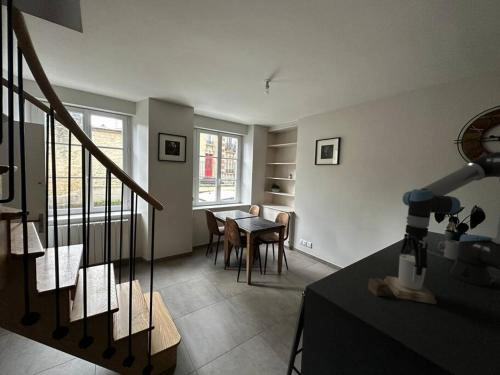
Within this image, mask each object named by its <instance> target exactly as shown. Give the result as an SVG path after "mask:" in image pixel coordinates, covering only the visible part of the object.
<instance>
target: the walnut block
mask: <svg viewBox="0 0 500 375" xmlns="http://www.w3.org/2000/svg"><path fill="white" fill-rule="evenodd" d="M388 289H389V287H388V284H387V283H385V282H384V280H383V279H381V278H375V277H373V278H368V286H367V290H368V291H369V292H371V293H372V294H373V295H374V296H376V297H377V296H383V297H384V296H385V297H386V296H387V295H388Z"/></svg>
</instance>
